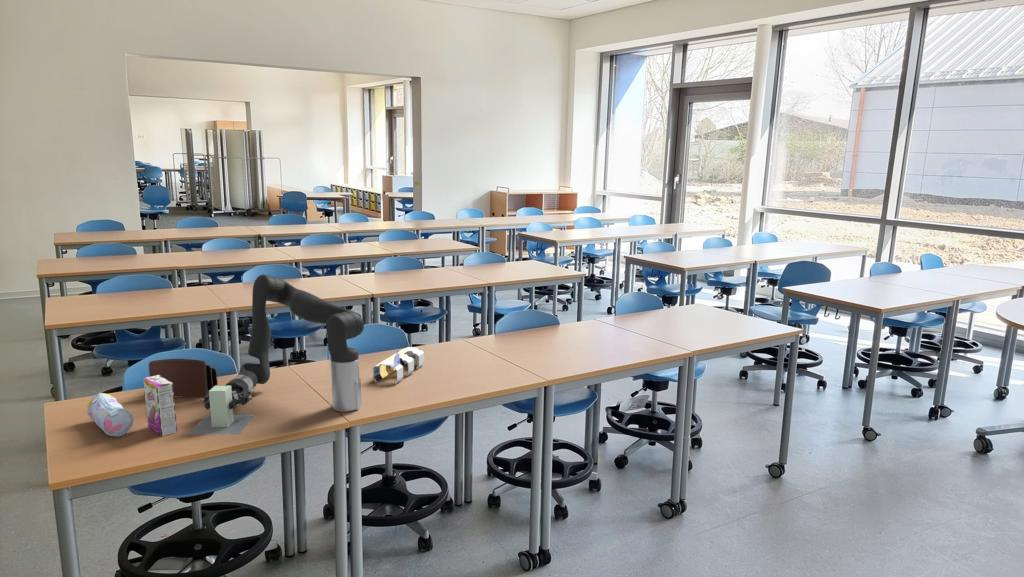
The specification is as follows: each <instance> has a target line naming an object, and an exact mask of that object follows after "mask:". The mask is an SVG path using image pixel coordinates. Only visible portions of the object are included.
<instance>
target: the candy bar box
mask: <svg viewBox="0 0 1024 577" xmlns="http://www.w3.org/2000/svg"><path fill="white" fill-rule="evenodd" d="M142 381H143V390H144V397H145V410H146V417H147V418H146V419H147V426H148V428H149V429H151V430H153V431H154V432H155V433H157V434H158V435H159V436H160V437H165V436H167V435H168V436H169V435H172V434H176V433H178V424H177V415H176V405H175V403H176V402H175V397H174V393H173V383H172V382H170V381H168V380H167V379H165V378H163V377H162V376H160V375H155V376H150V375H149V376H146V377H143V378H142Z"/></svg>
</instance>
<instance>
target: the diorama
mask: <svg viewBox="0 0 1024 577" xmlns="http://www.w3.org/2000/svg"><path fill="white" fill-rule="evenodd" d="M424 363H425V352H424V351H423V350H422V349H421V350H420V349H419V348H418V347H413V346H412V347H411V346H407V347H406V348H403V349H397V350H396V353H394V354H393V355H391V356H390V357H388V358H386V359H384V360H383V361H381V362H379V363H378V364H376V365H375V366H373V367H372V378H373V379H374V381H375V383H378V382H380V381H381V380H383V379H384V378H386V377H388V376H389V375H390V374H392V373H393V372H394V371H396V381H395V382H394V385H397V384H398V383H400V382H401V381H402V379H403V378H404V365H407V373H406V374H405V377H408V376H410V375H411V374H412V373H413V372H414V370H415V366H416V370H418V369H420V368H421V367H422V366H423V364H424Z"/></svg>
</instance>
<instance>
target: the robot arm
mask: <svg viewBox="0 0 1024 577" xmlns="http://www.w3.org/2000/svg"><path fill="white" fill-rule="evenodd" d="M251 296H252V299H251V300H252V302H251V303H252V306H251V312H252V313H251V316H252V318H251V320H252V322H251V333H250V339H249V343H248V351H247V354H248V355H249V356H250V357H253V358H256V359H258V361H259V363H253V362H246V363H243V364H241V366H240V368H239V372H238V374H237V375H236V376H234V377H233V378H231V380H229V381H227V383H226V384H224V386H231V389H232V401H231V402H230V403H229V409H233V410H234V409H235V408H236V407H237V406H240V405H241V406H245V405H246V404H248V403H249V402H250V401H252V398H253V396H252V395H253V394H252V390H253V389H254V388H255V387H256V386H257V384H258V385H259V384H260V385H264V384H266V383H267V382H268V381H269V380H270V377H271V367H270V360H269V355H270V354H269V353H270V348H271V347H270V346H271V339H272V330H271V327H270V324H269V320H268V317H267V313H266V311H267V310H266V309H267V308H266V305H267V302H271V303H278V304H281V305H284V306H286V307H289V310H290V312H291V313H292V314H294V316H296V317H299V318H300V319H302V320H304V321H306V322H308V323H309V322H310V323H314V324H315V323H316V324H321V325H322V324H324V325H325V327H326V328H325V330H326V339H327V349H328V350H327V351H328V352H329V356H330V376H331V380H330V381H331V399H332V400H331V403H332V404H331V405H332V410H334V411H336V412H353V411H358V410H359V409H360V407H361V406H362V380H361V377H360V362H359V351H358V349H356V348H355V347H350V346H348V342H347V340H351V339H354V338H356V337H359V336H361V334H362V333H363V331H364V328H365V324H364V321H363V318H362V317H361V315H359V313H358V312H355V311H354V310H350V309H347V308H344V307H341V306H338V305H336V304H334V303H331V302H329V301H326V300H325V299H322V298H321V297H318V296H317V295H315V294H312V293H311V292H308V291H305V290H304V289H299V288H296V287H294V286H293V285H291V284H290V283H289V282H287V281H286V280H285V279H283V278H280V277H276V276H272V275H269V274H261V275H260V274H259V276H257V277H256V278H255V280H254V281H253V286H252V294H251ZM203 405H204V409H205V410H206V411H207V410H210V399H209V393H208V394H207V395H206V396H205V397H203Z"/></svg>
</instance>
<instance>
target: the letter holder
mask: <svg viewBox="0 0 1024 577" xmlns="http://www.w3.org/2000/svg"><path fill="white" fill-rule="evenodd" d="M148 371H149V372H148V373H149V377H150V376H155V375H160V376H162V377H163V378H165V379H167V380H168V381H170V382H172V383H173V393H174V396H179V397H178V398H204V397H205V396H206V395H207V394H208V393H209V390H211V389H212V388H213V387H214V386H219V384H218V373H217V371H218V370H217V369H216V368H215V367H212V366H211V365H208V364H206V362H205V361H204V360H199V359H190V358H165V359H164V358H163V359H157V360H152V361H149V362H148ZM180 396H181V397H180Z"/></svg>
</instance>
